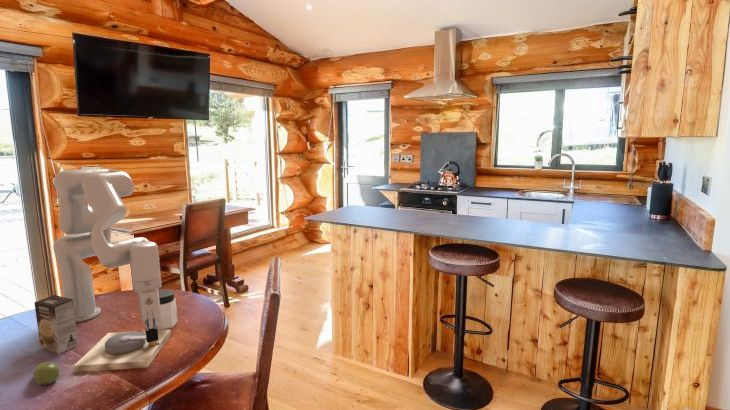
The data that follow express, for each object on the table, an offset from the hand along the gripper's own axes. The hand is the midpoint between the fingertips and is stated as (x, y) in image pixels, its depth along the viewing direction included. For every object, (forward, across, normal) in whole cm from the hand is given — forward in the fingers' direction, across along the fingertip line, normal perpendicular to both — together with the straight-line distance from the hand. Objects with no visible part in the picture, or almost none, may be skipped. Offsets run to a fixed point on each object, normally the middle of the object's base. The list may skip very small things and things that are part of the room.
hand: (152, 340), depth 124 cm
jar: (+6, +22, -4) cm, 23 cm away
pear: (+6, +2, +27) cm, 28 cm away
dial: (+3, +7, +6) cm, 9 cm away
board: (+6, +8, +7) cm, 12 cm away
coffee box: (+6, +22, +26) cm, 35 cm away
